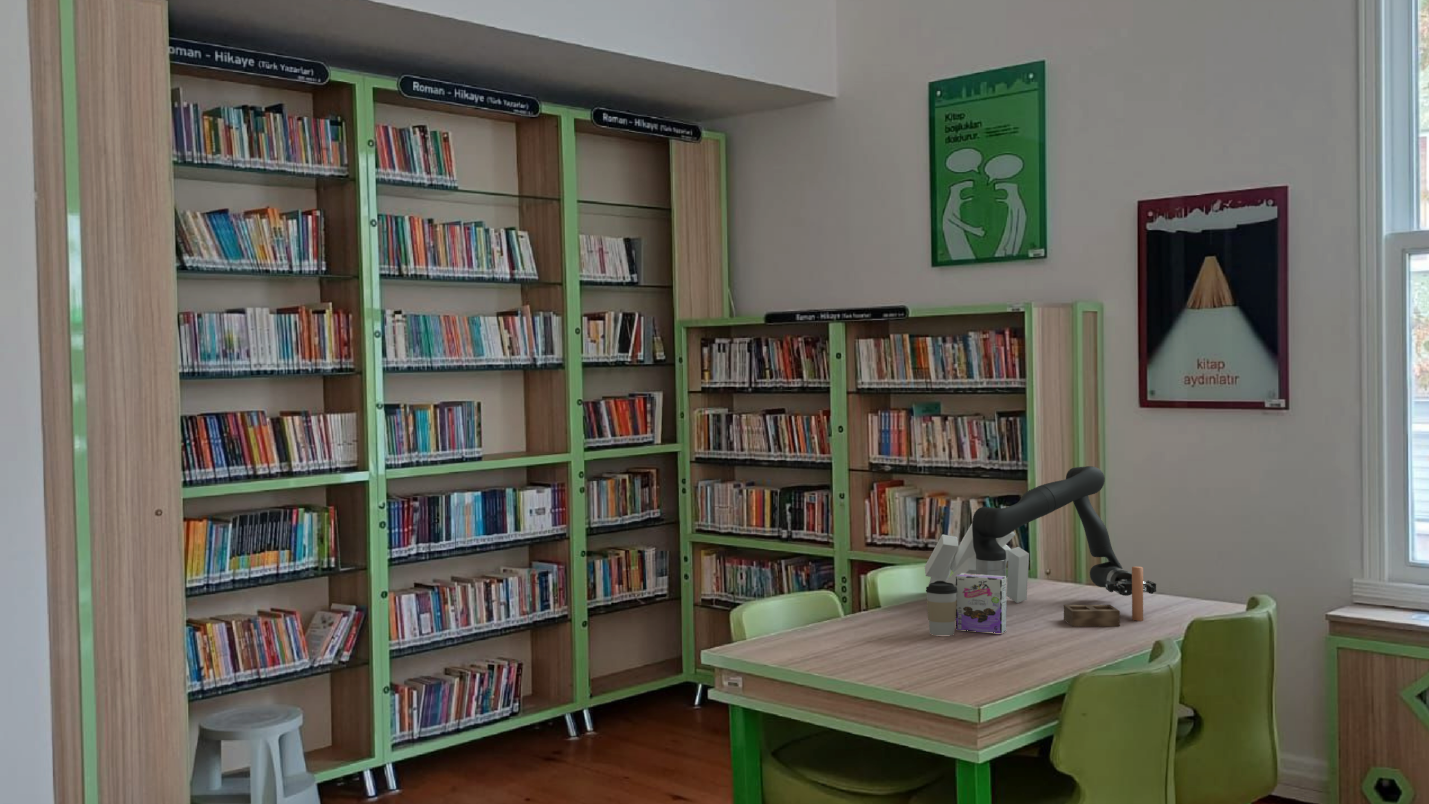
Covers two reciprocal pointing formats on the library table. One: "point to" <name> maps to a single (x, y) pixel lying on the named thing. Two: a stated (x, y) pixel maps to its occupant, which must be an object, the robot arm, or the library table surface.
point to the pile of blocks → (964, 561)
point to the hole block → (1091, 615)
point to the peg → (1137, 593)
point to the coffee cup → (941, 607)
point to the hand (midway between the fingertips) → (1137, 590)
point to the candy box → (981, 603)
